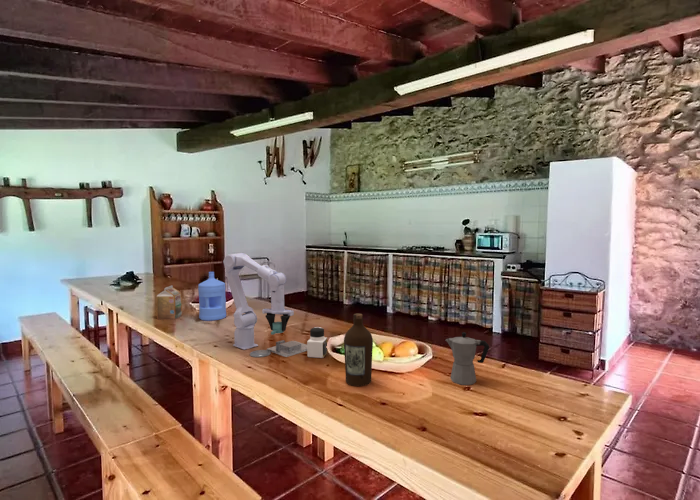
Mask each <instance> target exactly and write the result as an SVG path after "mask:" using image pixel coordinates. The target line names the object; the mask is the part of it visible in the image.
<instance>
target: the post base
mask: <svg viewBox="0 0 700 500" xmlns="http://www.w3.org/2000/svg"><path fill="white" fill-rule="evenodd" d="M266 350H268V351H270V352H271V353H274V354H277V355H279V356H281V357H285V358H288V357H291V356H294V355H299V354H301V353H304V352H307V343H302V342H300V341H296V340H290V341H286V340H284V339H282V340H278V341H276V342H275V346H272V347H267V348H266Z"/></svg>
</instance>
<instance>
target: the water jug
mask: <svg viewBox="0 0 700 500" xmlns="http://www.w3.org/2000/svg"><path fill="white" fill-rule="evenodd" d="M197 285H198V288H197V292H198V302H199V303H198V304H199V307H198V309H199V310H198V311H199V314H198V318H199V319H200V320H202V321H207V322H208V321H209V322H210V321H211V322H212V321H219V320H223V319H225V318H226V317H227V300H226V299H227V298H226V283H225V282H223V281H222V280H219V279H217V278H215V271H208V278H207V279H206V280H204V281H202V282H200V283H198V284H197Z"/></svg>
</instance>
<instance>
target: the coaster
mask: <svg viewBox="0 0 700 500" xmlns="http://www.w3.org/2000/svg"><path fill="white" fill-rule="evenodd" d="M271 354H272V352H270V351H268V350H267V349H258V350H253V351H251V352H249V356H250V357H252V358H265V357H268V356H270V355H271Z"/></svg>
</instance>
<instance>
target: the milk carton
mask: <svg viewBox="0 0 700 500" xmlns="http://www.w3.org/2000/svg"><path fill="white" fill-rule="evenodd" d="M182 299H183V298H182V292H181V291H180V290H178V289H176V288H175V287H173V285H172V284H171V285H169V286H166V287H164V290H162V291H161V292H160V293H158V294H157V295H156V318H157V320H163V321H164V320H170V321H171V320H172V321H173V320H177V319H178V318H180V317H181V316H183V306H182Z"/></svg>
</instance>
